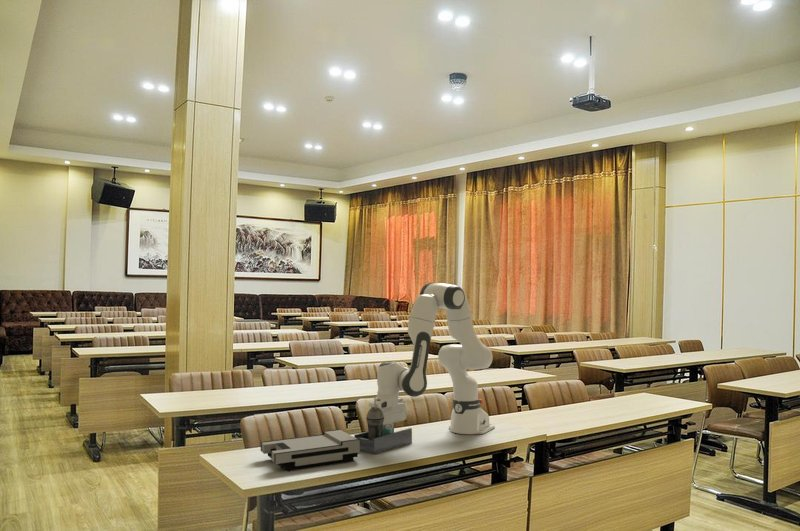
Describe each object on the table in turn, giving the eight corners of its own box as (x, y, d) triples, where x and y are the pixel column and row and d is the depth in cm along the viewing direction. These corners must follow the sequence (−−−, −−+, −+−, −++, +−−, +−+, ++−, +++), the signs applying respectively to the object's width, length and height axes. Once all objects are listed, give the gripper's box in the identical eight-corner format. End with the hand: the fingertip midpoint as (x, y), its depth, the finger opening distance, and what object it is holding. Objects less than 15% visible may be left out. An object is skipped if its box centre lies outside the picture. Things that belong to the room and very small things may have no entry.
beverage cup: (384, 444, 245) (383, 395, 246) (384, 449, 237) (384, 398, 238) (366, 444, 244) (366, 395, 245) (366, 449, 237) (365, 398, 238)
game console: (260, 460, 228) (260, 438, 228) (339, 449, 243) (339, 429, 243) (275, 474, 209) (275, 450, 210) (359, 462, 224) (359, 439, 225)
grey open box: (392, 438, 258) (392, 424, 259) (411, 442, 251) (411, 428, 251) (354, 449, 241) (354, 434, 241) (374, 454, 234) (374, 438, 234)
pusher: (377, 441, 249) (377, 426, 250) (392, 444, 244) (392, 429, 244) (374, 441, 248) (374, 427, 248) (389, 445, 243) (389, 430, 243)
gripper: (398, 396, 259) (398, 429, 258) (365, 403, 244) (365, 437, 243) (409, 398, 255) (410, 431, 254) (376, 405, 239) (377, 440, 239)
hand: (388, 434), depth 248 cm, fingers closed
